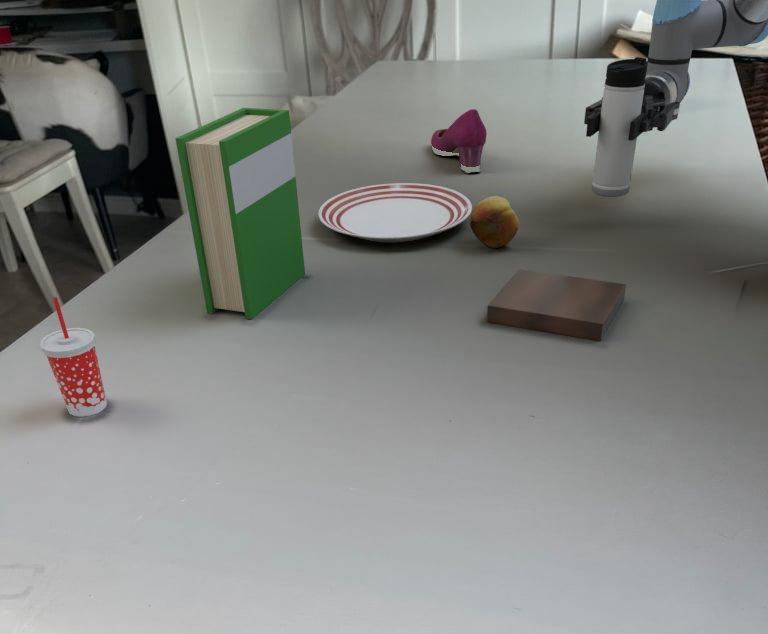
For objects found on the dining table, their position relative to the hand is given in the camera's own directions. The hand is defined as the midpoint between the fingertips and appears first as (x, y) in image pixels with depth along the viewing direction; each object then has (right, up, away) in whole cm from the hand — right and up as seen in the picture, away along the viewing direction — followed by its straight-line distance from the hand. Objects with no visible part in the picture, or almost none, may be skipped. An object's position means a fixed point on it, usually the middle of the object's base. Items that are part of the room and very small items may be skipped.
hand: (610, 129), depth 129 cm
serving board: (-11, -32, -13) cm, 37 cm away
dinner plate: (-34, -9, +17) cm, 39 cm away
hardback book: (-55, -28, -5) cm, 62 cm away
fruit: (-18, -16, +7) cm, 25 cm away
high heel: (-20, +17, +49) cm, 56 cm away
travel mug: (+3, -6, +10) cm, 12 cm away
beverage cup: (-72, -48, -30) cm, 92 cm away
